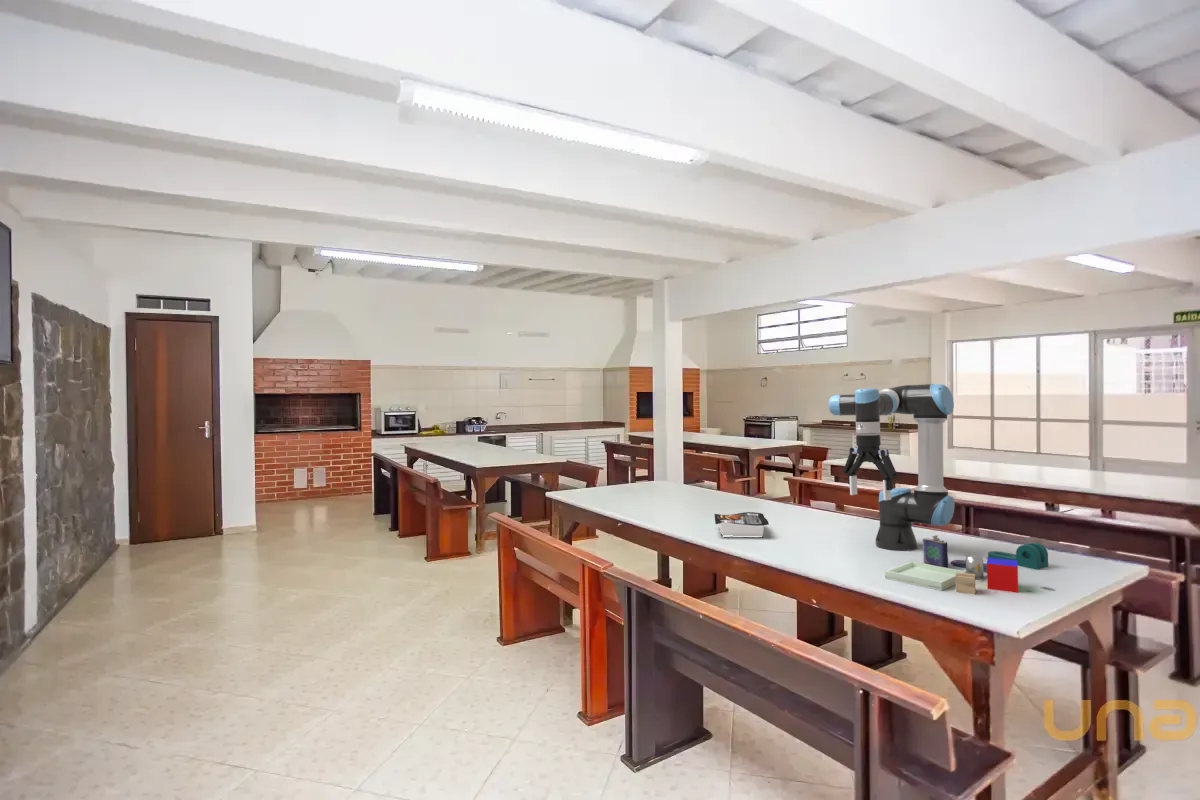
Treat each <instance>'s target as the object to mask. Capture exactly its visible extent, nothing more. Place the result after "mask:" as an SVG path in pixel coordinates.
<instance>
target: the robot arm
mask: <svg viewBox="0 0 1200 800" xmlns="http://www.w3.org/2000/svg"><path fill="white" fill-rule="evenodd" d="M954 403H955V402H954V398H953V394H952V392H951V390H950V388H949V387H948V386H947V385H945V384H939V383H936V384H935V383H930V384H928V383H927V384H905V385H900V386H899V385H898V386H893V387H889V388H883V389H880V390H879V389H878V388H858V389H856V390H855V392H854V393H852V394H851V393H849V394H835V395H832V396H831V397H830V398H829V400H828V409H829V412H830V413H831V415H833V416H840V417H841V416H855V432H856V434H857V435H855V443H856V446H855V447H854V446H853V447H850V448H849V454H848V457H847V459H846V462H845V465H844V467H843V469H842V473H843V474H846V475H847V479H848V481H847V482H848V485H849V495H850V496H855V495H858V475H856V473H857V471H859V469H860V468H861V466H862V465H863V464H864V463H867V462H868V463H872V464H873V465H874V466H875V467H876V469H877V470H878V471H879V473H880V474H881V475H882V477H883V478H884V479H883V480H882V489H883V490H881V491H879V494H878V509H879V510H878V511H879V512H878V513H879V527H878V531H877V534H876V537H875V546H876V547H878V548H880V549H883V550H884V549H886V550H890V551H892V550H893V551H914V550H917V549H918V541H917V539H916V536H915V533H914V531H913V526H912V525H913V524H922V525H930V526H933V527H934V526H937V527H943V526H947V525H949V524H950V522H951V521H952V519H953V517H954V513H955V506H956V505H955V503H956V502H955V500H954V497H953V496H951V495H949V490H948V489H947V488H946V487H945V486H944V423H945V422H946V421H947V420H948V416H949V415H951V414H952V413H953V411H954V407H955V404H954ZM892 414H899V415H900V414H901V415H913V420H914V421H915V422H916V423H917V455H918V456H917V457H918V458H917V462H918V463H917V467H918V468H917V477H918V479H917V481H918V484H917V485H916V486H915V487H914V489H913V492H912V489H911V488H909V487H897V488H895V487H893V480H895V479H898V478H899V476H898V473H897V471H896V469H895V467H894V464H893V462H892V459H891V457H890V451H889V449H880V446H881V435H880V433H881V422H880V421H881V419H880V417H881V416H888V415H892ZM912 523H913V524H912Z"/></svg>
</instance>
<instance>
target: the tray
mask: <svg viewBox="0 0 1200 800" xmlns="http://www.w3.org/2000/svg"><path fill="white" fill-rule="evenodd" d="M956 572H959V573H966V570H965V571H964V570H959V569H954V568H950V567H948V568H945V567H939V566H934V565H929V564H925V563H924V562H918V561H911V560H910V561H908V562H905V563H903V564H900V565H897V566H894V567H892V568H889V569H887V570H885V571H884V580H885V579H886V580H891V581H895V582H900V583H905V584H908V585H913V586H919V587H923V588H928V589H933V590H935V591H936V590H937V591H940V592H941V591H945V590H946V589H948V588H951V587H952V586H956Z"/></svg>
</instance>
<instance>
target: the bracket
mask: <svg viewBox="0 0 1200 800" xmlns="http://www.w3.org/2000/svg"><path fill="white" fill-rule="evenodd" d="M988 558H996V559H1006V560H1016V561H1018V567H1023V568H1027V569H1031V570H1035V571H1036V570H1037V571H1038V570H1042V569H1045V568H1049V553H1048V550H1047V549H1046V546H1044V545H1043V544H1041V543H1039V542H1032V543H1027V544H1023V545H1019V546H1018V547H1017V548H1016V551H1015V554H1014V553H1010V552H1005V551H998V550H997V551H995V550H993V551H992V550H991V551H988V552H987V559H988Z"/></svg>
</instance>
